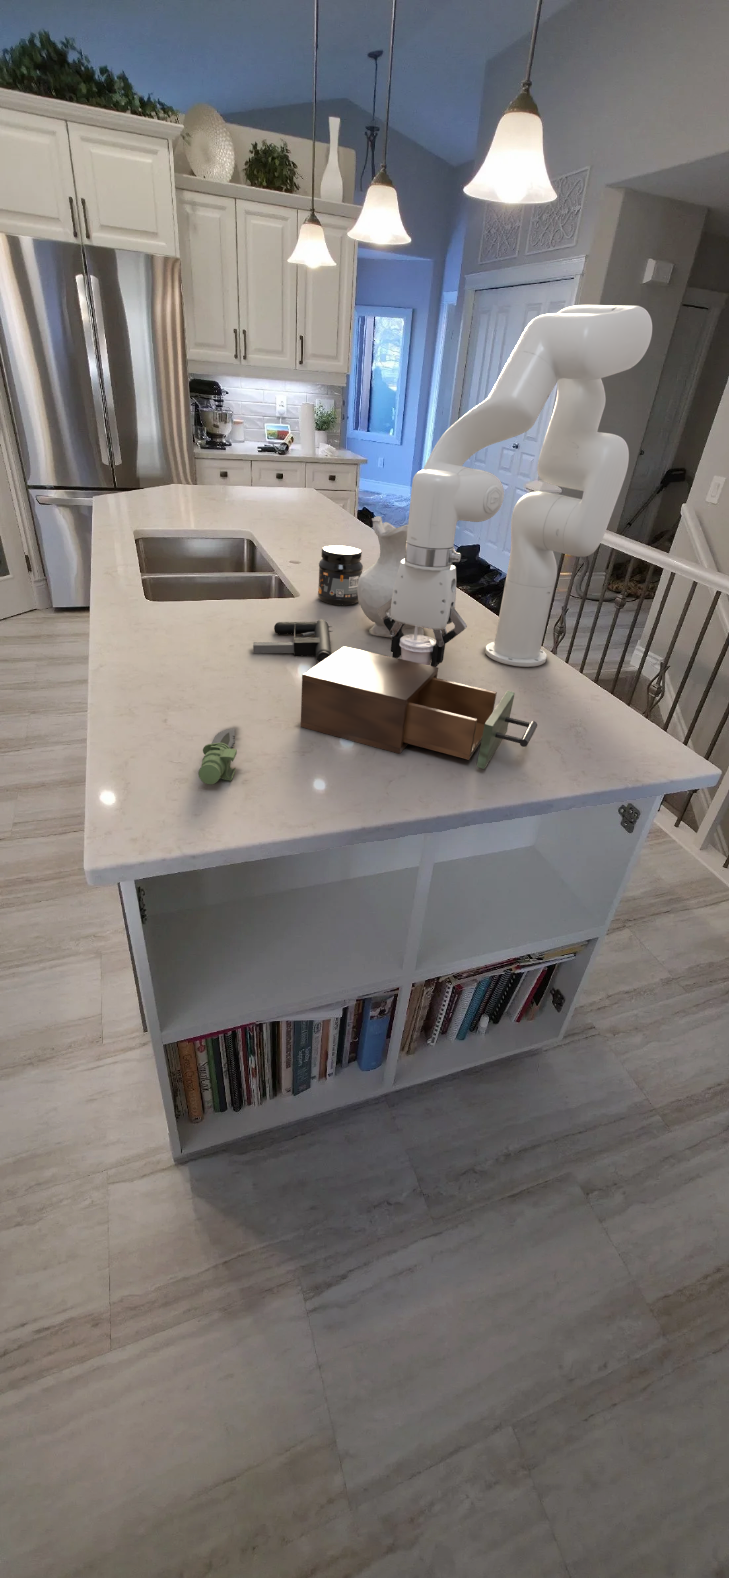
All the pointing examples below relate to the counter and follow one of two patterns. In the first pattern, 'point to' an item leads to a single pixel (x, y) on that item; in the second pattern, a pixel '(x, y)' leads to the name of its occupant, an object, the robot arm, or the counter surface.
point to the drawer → (461, 720)
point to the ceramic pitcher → (383, 576)
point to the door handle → (300, 640)
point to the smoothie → (417, 648)
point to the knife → (218, 758)
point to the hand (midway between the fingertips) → (416, 660)
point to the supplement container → (339, 574)
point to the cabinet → (362, 696)
